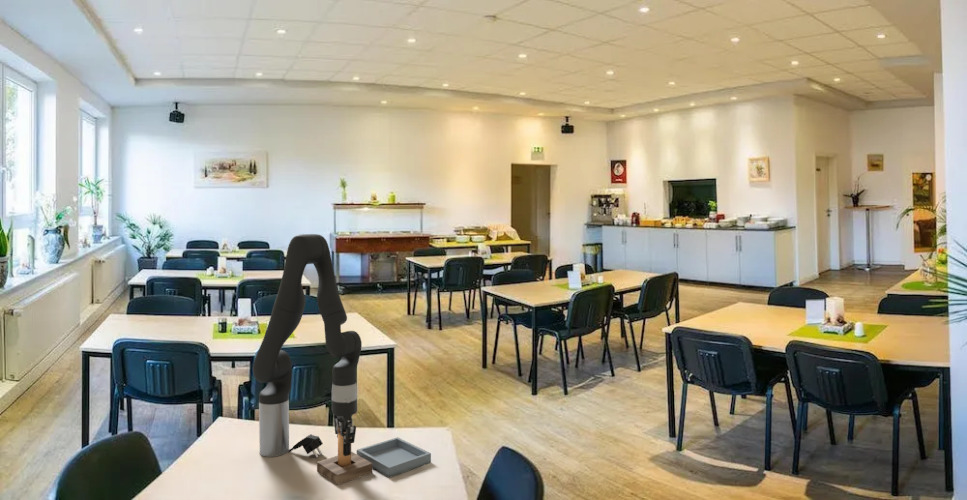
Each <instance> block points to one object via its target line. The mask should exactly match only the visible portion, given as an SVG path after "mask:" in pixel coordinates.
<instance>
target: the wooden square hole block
mask: <svg viewBox="0 0 967 500" xmlns="http://www.w3.org/2000/svg"><path fill="white" fill-rule="evenodd" d="M316 472H317V473H318V474H320V475H321V476H323V477H325V479H328V480H329V481H330V482H332V483H334V484H335V485H337V486H338V485H341V484H344V483H347V482H350V481H352V480H356V479H358V478H362V477H365V476H367V475H370V474H372V473H373V468H372V463H371V462H369V461H367V460H366V459H364V458H362V457H360V456H359V455H357V453H355V452H353V451H351V465H348V466H345V467H342V468H341V467H340V466H338V455H336V456H332V457H330V458H329V457H327V458H326V459H323V460H319V461H316Z"/></svg>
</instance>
